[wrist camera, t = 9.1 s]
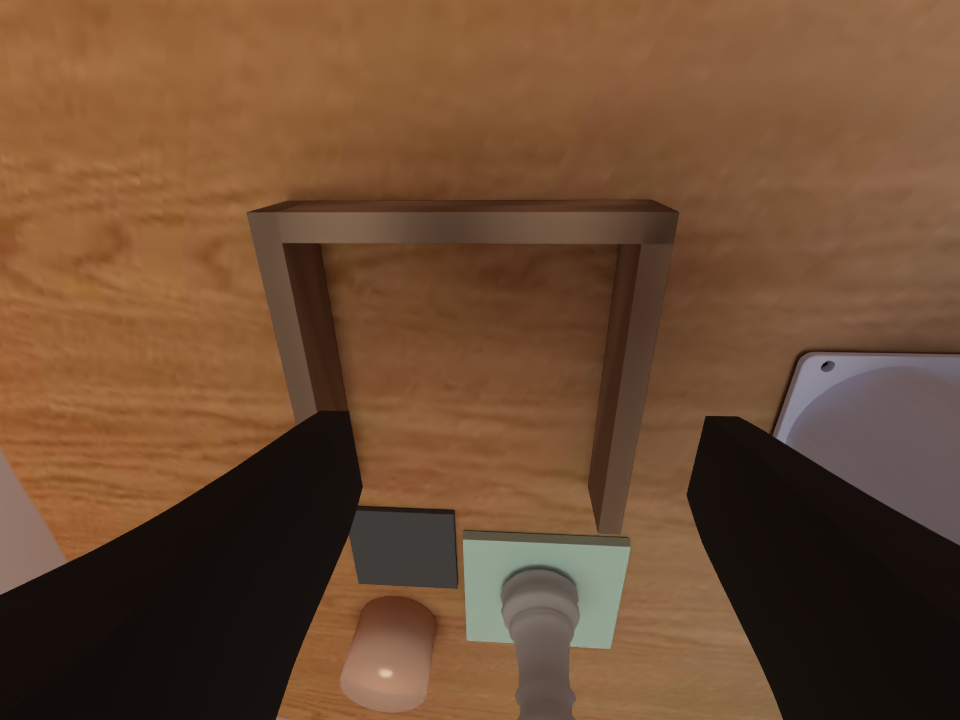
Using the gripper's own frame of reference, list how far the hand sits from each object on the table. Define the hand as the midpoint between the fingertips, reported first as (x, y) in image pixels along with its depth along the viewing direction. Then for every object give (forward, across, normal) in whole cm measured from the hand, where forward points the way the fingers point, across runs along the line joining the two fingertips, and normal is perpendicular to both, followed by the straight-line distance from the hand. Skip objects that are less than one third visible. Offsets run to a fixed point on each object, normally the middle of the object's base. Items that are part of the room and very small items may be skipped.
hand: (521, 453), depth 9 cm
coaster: (+10, -2, +18) cm, 21 cm away
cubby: (+10, +2, +3) cm, 11 cm away
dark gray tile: (+10, +6, +15) cm, 19 cm away
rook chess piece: (+10, -2, +18) cm, 20 cm away
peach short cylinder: (+10, +7, +22) cm, 26 cm away
